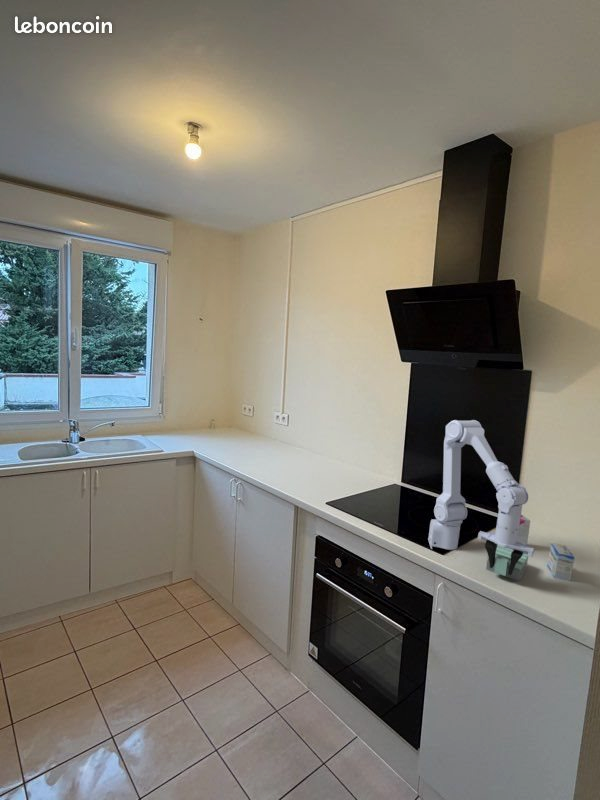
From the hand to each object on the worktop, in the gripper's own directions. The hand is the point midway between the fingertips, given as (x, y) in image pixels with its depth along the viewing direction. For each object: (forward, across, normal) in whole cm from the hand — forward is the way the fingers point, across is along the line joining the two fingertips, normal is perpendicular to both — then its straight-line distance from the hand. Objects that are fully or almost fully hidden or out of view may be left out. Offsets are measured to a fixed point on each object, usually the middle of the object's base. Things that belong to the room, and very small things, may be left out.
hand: (500, 570), depth 121 cm
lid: (+1, 0, +6) cm, 6 cm away
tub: (+3, 0, +8) cm, 9 cm away
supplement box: (+4, -2, +28) cm, 28 cm away
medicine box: (+4, +13, +18) cm, 22 cm away
